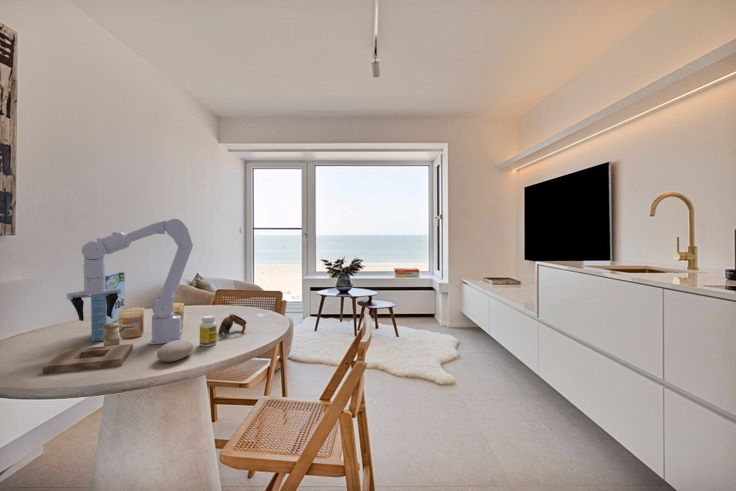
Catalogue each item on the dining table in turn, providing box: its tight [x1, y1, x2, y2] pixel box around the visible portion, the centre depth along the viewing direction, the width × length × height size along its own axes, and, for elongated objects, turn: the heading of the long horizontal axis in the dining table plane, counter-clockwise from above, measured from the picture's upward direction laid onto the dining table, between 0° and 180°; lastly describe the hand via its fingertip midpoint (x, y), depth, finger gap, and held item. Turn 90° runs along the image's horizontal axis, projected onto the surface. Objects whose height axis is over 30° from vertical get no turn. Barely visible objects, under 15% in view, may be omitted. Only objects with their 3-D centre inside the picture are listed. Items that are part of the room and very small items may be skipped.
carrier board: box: [42, 343, 134, 375], centre depth 111 cm, size 18×16×2 cm
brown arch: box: [217, 313, 248, 336], centre depth 143 cm, size 12×10×8 cm
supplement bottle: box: [199, 315, 218, 347], centre depth 128 cm, size 5×5×10 cm
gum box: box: [90, 271, 126, 342], centre depth 140 cm, size 20×5×23 cm, turn 16°
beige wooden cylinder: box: [103, 323, 121, 346], centre depth 123 cm, size 4×4×8 cm
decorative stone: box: [156, 339, 194, 363], centre depth 114 cm, size 13×9×5 cm
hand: (95, 318), depth 123 cm, fingers open, 7 cm apart
